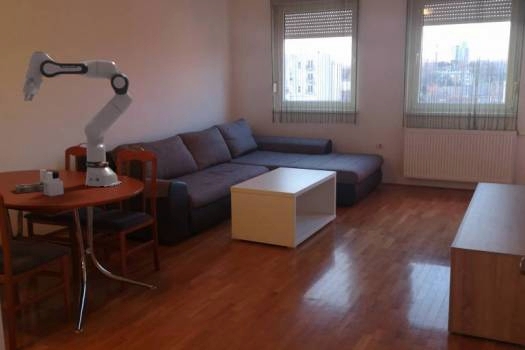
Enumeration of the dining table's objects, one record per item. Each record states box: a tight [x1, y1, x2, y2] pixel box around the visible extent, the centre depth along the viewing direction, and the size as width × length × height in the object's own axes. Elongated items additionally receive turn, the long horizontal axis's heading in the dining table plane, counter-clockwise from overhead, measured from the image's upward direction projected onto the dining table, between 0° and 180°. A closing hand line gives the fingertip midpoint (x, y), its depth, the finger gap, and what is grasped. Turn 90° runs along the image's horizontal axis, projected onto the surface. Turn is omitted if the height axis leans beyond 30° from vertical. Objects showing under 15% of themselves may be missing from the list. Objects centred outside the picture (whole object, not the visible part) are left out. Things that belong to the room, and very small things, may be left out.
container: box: [43, 170, 64, 197], centre depth 298 cm, size 8×8×13 cm
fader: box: [38, 168, 48, 184], centre depth 313 cm, size 4×5×8 cm
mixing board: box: [14, 182, 44, 194], centre depth 311 cm, size 20×11×3 cm, turn 126°
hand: (27, 100), depth 315 cm, fingers open, 8 cm apart
